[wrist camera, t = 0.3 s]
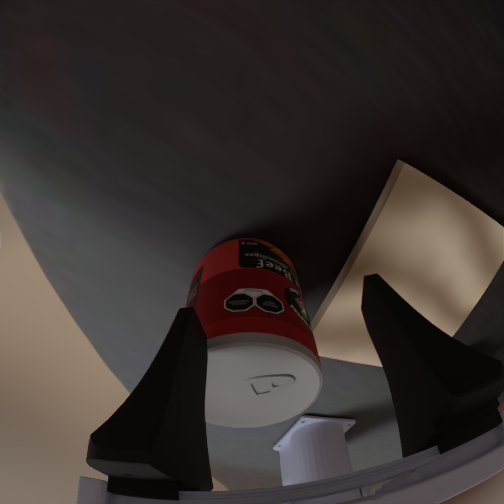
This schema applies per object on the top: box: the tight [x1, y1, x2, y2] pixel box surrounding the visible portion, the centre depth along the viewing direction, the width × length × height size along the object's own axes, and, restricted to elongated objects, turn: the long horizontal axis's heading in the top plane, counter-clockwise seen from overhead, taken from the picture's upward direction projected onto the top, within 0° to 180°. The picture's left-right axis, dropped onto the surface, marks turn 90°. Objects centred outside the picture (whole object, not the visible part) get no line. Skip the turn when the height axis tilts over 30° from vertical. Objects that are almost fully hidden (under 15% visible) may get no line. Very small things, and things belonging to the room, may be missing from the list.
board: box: [310, 159, 504, 367], centre depth 25 cm, size 18×16×1 cm
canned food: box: [185, 238, 323, 428], centre depth 20 cm, size 8×8×11 cm
